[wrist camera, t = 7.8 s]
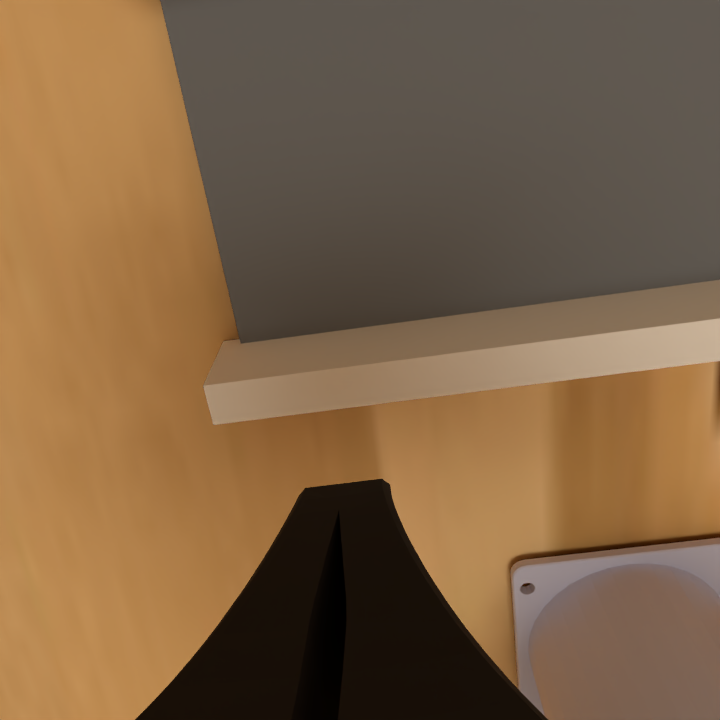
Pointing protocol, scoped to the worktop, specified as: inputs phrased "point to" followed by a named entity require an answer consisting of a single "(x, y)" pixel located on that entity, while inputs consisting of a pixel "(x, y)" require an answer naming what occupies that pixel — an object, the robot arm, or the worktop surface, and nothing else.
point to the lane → (453, 192)
